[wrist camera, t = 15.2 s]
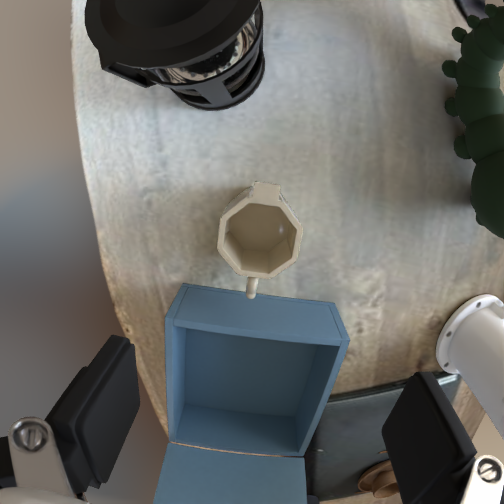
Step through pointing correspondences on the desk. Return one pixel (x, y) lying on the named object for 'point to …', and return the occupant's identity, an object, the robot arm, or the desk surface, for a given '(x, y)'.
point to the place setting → (379, 480)
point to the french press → (182, 46)
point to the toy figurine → (481, 112)
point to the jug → (259, 234)
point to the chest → (249, 369)
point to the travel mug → (312, 499)
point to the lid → (229, 478)
